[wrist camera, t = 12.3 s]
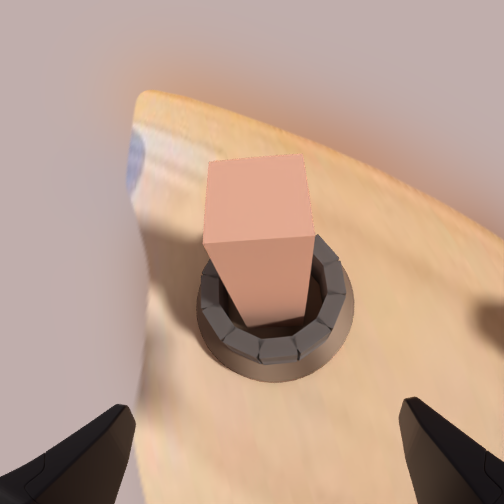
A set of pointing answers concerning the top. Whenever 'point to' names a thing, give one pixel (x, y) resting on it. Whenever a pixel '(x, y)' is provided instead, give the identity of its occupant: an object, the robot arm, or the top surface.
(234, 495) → the top surface
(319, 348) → the socket
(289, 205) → the terracotta peg
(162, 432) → the top surface
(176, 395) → the top surface
